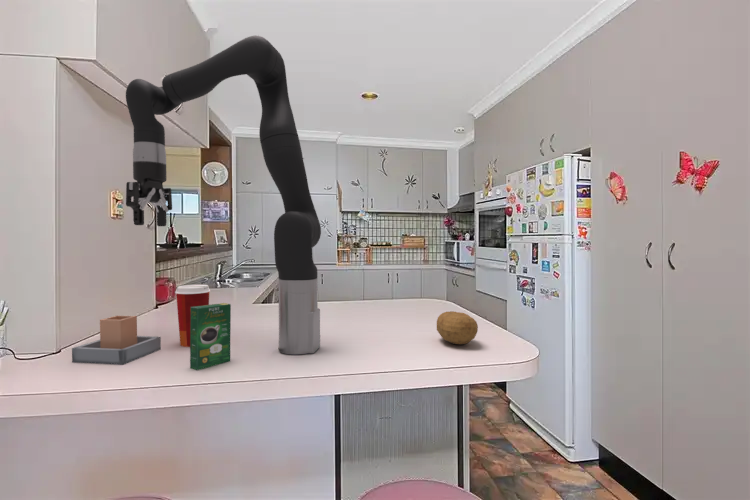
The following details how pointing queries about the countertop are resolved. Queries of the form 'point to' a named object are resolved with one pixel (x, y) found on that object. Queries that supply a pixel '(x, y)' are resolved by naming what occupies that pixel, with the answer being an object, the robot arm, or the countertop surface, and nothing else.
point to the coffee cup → (189, 307)
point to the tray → (115, 351)
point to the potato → (456, 327)
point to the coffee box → (210, 335)
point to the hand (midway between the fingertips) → (150, 225)
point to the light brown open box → (118, 332)
